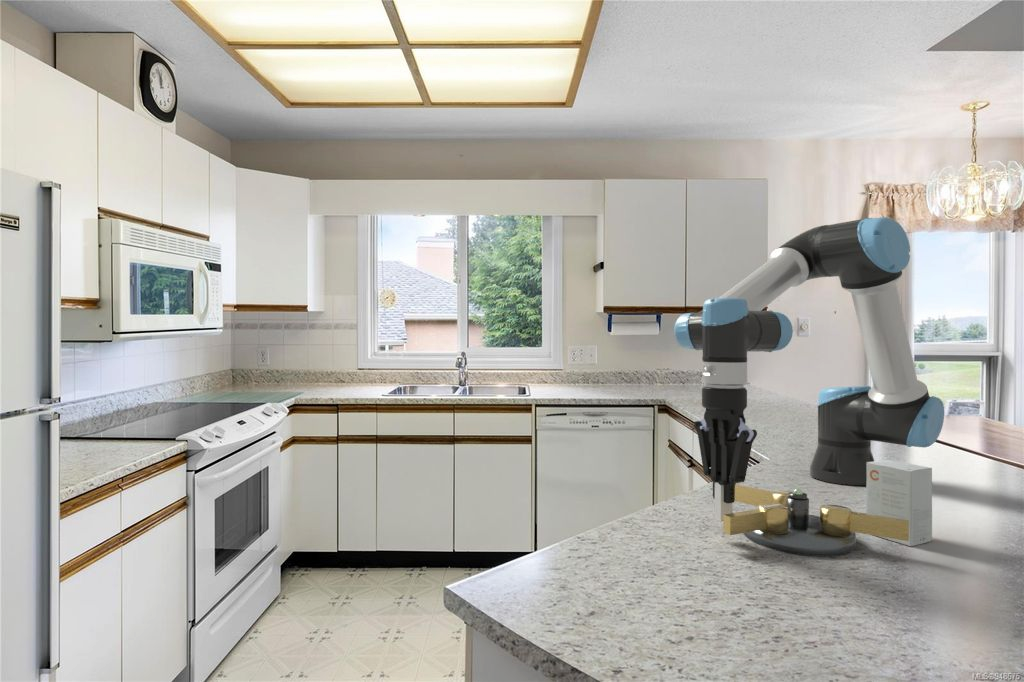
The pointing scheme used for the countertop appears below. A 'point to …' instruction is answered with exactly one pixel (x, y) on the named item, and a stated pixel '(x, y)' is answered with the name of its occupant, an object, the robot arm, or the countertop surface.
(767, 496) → the knob
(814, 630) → the countertop surface
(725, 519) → the knob
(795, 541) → the tribrach plate
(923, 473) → the small box
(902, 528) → the knob
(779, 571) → the countertop surface
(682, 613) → the countertop surface
